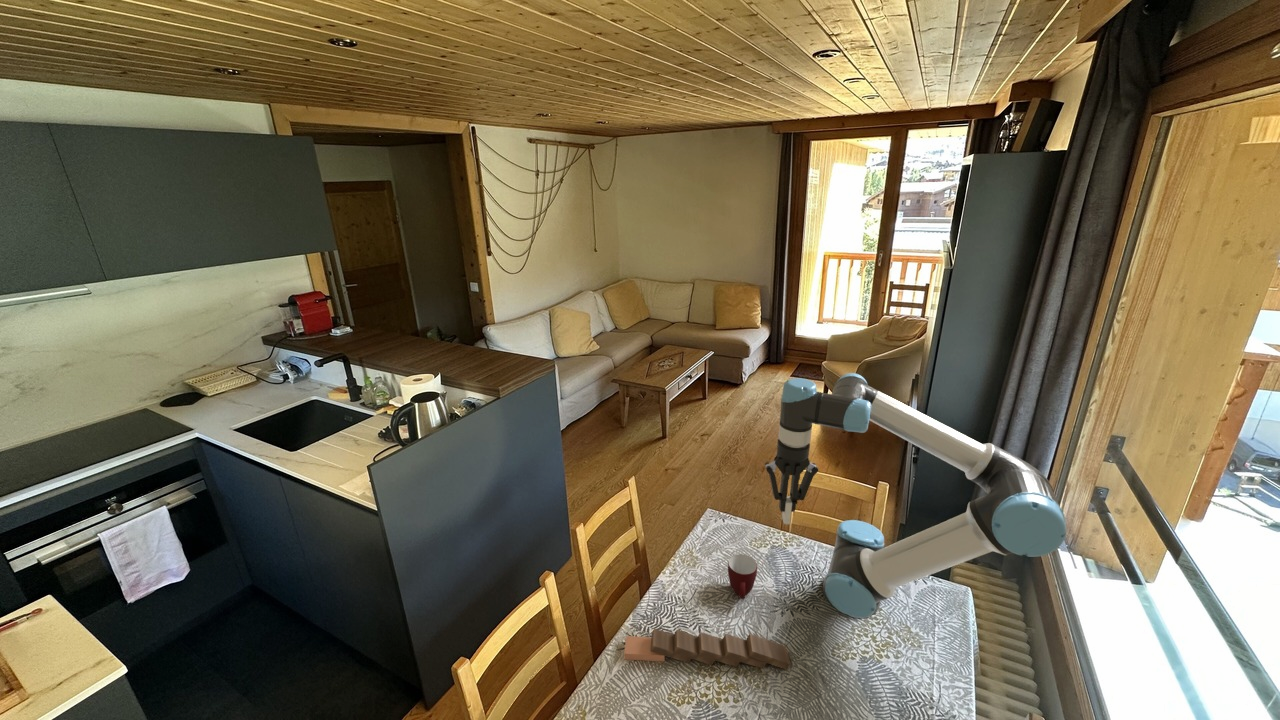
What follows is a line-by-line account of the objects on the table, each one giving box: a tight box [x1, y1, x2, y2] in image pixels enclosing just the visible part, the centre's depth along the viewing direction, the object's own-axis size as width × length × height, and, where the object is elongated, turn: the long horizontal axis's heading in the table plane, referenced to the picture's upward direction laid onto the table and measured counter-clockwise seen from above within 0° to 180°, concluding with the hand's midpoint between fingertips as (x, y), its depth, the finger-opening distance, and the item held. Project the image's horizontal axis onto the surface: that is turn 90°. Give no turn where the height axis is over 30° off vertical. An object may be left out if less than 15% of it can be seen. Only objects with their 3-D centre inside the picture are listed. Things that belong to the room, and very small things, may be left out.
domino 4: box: [697, 631, 740, 668], centre depth 122 cm, size 2×5×10 cm
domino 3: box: [673, 629, 716, 666], centre depth 123 cm, size 2×5×10 cm
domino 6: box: [746, 633, 792, 671], centre depth 121 cm, size 2×5×10 cm
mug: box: [727, 553, 758, 600], centre depth 140 cm, size 10×8×10 cm
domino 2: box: [651, 628, 692, 664], centre depth 123 cm, size 2×5×10 cm
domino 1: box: [623, 635, 666, 662], centre depth 124 cm, size 2×5×10 cm
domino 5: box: [722, 633, 767, 669], centre depth 122 cm, size 2×5×10 cm
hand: (785, 520), depth 128 cm, fingers closed
